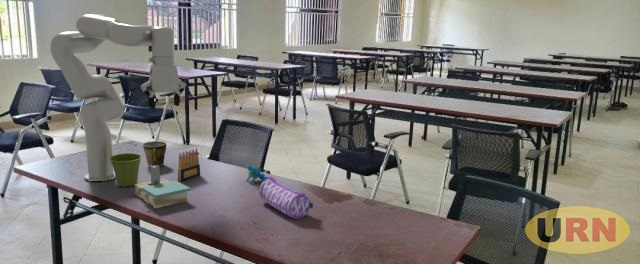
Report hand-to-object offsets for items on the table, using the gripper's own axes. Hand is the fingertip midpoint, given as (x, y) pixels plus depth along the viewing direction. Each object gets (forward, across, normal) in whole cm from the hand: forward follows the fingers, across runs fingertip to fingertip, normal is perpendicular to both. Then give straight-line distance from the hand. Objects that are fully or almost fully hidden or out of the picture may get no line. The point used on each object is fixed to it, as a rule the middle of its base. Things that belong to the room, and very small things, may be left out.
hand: (164, 106), depth 198 cm
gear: (+32, +32, -15) cm, 47 cm away
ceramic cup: (+33, +8, +29) cm, 45 cm away
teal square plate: (+28, -6, -15) cm, 32 cm away
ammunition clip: (+32, +12, +6) cm, 35 cm away
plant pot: (+33, -11, +12) cm, 36 cm away
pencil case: (+32, +23, -46) cm, 60 cm away
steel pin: (+31, -7, -6) cm, 32 cm away
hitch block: (+32, -7, -10) cm, 34 cm away
